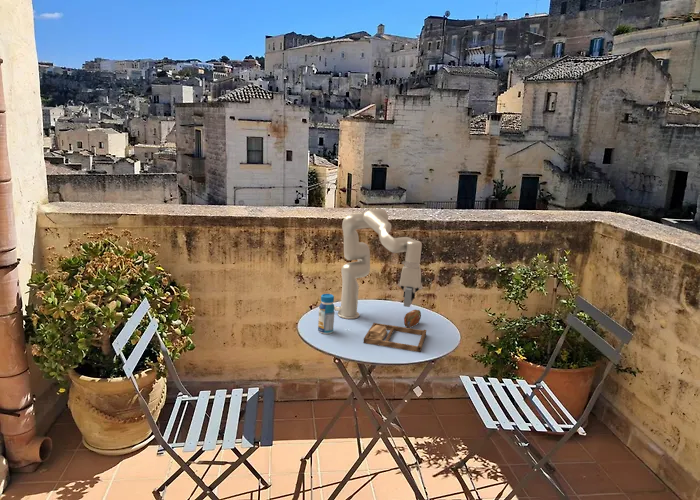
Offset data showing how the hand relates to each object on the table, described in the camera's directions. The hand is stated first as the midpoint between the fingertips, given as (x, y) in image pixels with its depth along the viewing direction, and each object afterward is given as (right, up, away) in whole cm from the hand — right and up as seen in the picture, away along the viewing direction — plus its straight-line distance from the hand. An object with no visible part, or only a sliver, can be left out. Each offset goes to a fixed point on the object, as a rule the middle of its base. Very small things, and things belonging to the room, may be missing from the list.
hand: (408, 298), depth 278 cm
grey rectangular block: (0, -2, 0) cm, 2 cm away
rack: (-6, -22, +6) cm, 23 cm away
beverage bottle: (-43, -18, +10) cm, 48 cm away
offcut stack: (-16, -21, +8) cm, 27 cm away
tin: (+5, -18, +28) cm, 33 cm away
